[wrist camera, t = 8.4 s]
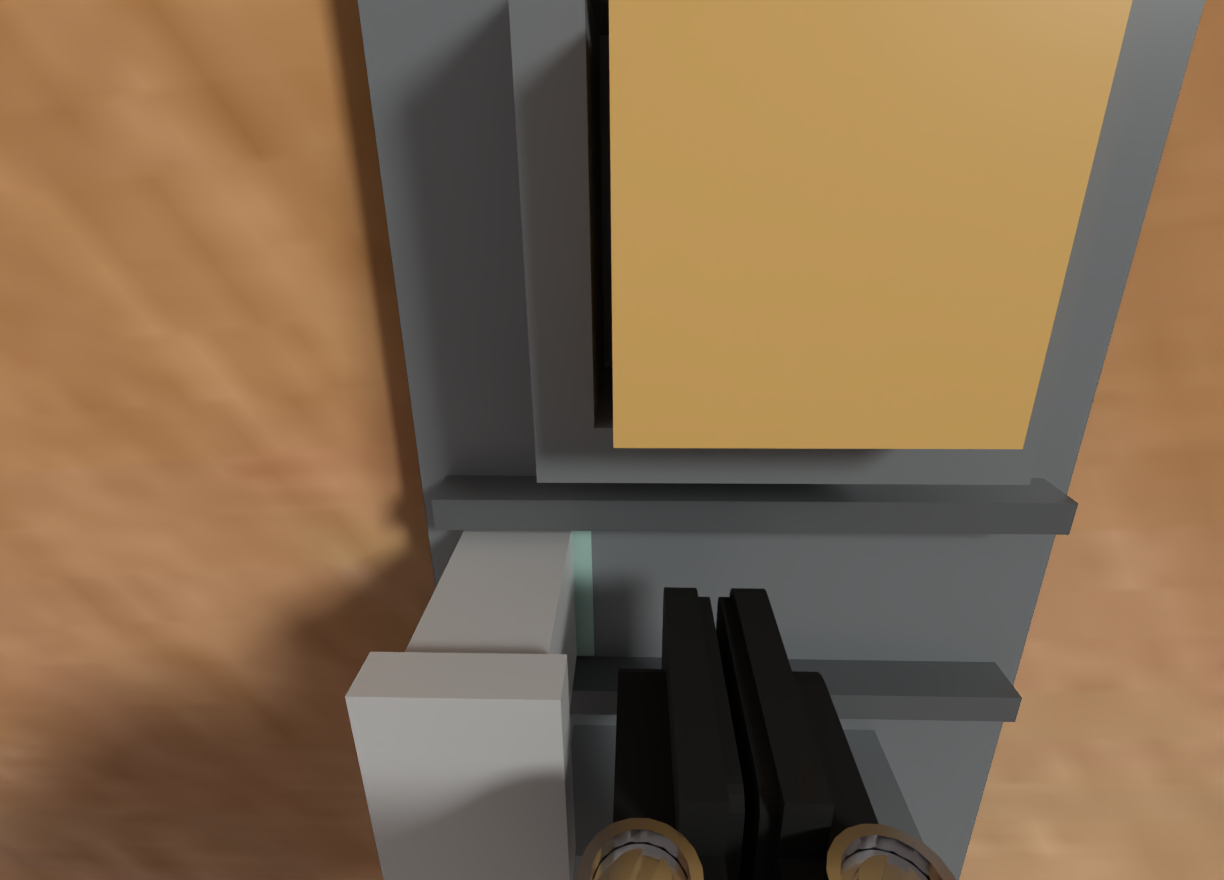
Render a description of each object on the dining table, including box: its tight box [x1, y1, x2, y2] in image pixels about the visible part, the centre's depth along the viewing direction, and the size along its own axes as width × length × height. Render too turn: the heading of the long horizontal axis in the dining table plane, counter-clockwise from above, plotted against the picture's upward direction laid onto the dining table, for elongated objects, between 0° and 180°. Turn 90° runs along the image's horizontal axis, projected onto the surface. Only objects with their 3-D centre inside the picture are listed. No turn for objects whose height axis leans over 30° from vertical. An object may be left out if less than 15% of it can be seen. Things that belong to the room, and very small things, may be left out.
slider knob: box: [345, 530, 577, 880], centre depth 11 cm, size 3×4×5 cm
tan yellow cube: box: [609, 0, 1133, 449], centre depth 8 cm, size 4×4×4 cm
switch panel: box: [358, 0, 1205, 880], centre depth 12 cm, size 12×22×4 cm, turn 1°
